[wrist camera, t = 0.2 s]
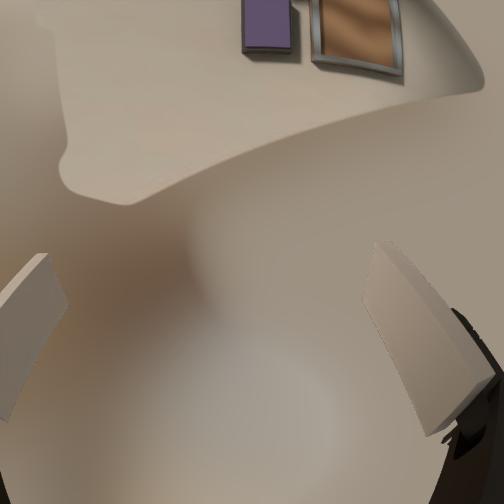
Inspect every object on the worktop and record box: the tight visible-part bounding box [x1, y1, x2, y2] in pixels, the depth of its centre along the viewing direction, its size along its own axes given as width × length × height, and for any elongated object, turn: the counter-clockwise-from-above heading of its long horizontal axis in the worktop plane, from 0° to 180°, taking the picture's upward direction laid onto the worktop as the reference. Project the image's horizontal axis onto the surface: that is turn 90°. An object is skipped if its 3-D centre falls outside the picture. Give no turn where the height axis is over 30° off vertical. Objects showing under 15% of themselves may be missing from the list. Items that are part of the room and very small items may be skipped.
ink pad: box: [241, 0, 293, 54], centre depth 25 cm, size 8×6×2 cm
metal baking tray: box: [309, 0, 402, 77], centre depth 23 cm, size 18×13×2 cm
